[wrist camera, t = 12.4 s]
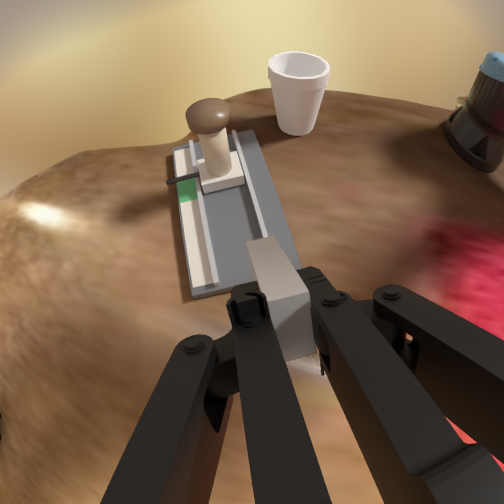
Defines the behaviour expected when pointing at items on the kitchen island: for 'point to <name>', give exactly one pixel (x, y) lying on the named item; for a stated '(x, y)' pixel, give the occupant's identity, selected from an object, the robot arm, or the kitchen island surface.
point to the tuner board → (228, 218)
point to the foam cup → (297, 89)
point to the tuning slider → (213, 146)
